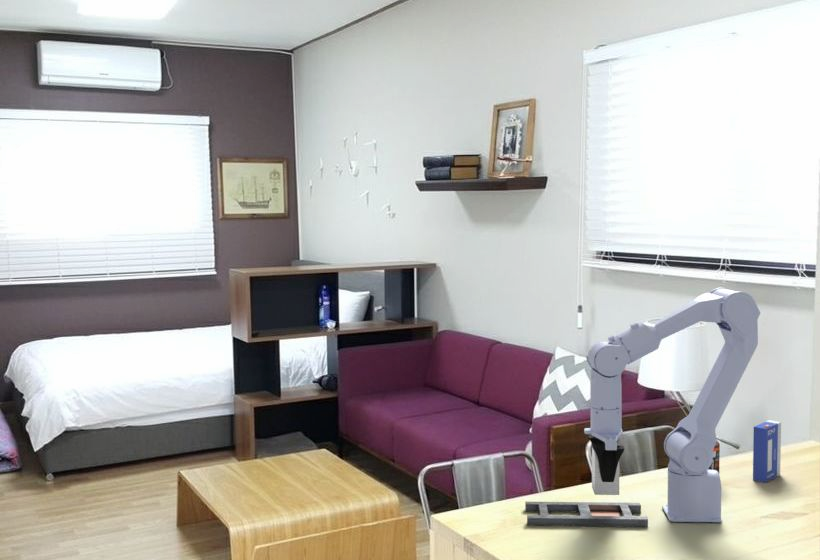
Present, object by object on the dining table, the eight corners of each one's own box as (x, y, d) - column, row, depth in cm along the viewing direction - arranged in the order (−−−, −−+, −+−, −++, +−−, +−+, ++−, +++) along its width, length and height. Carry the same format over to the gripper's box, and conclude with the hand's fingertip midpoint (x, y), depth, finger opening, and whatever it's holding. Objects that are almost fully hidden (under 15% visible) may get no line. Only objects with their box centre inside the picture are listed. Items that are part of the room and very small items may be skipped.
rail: (639, 510, 169) (639, 502, 169) (647, 527, 160) (647, 519, 160) (525, 508, 171) (525, 501, 171) (527, 525, 162) (527, 517, 162)
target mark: (618, 513, 168) (618, 511, 168) (622, 523, 163) (622, 521, 163) (589, 512, 168) (589, 511, 168) (593, 523, 163) (593, 521, 163)
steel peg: (615, 487, 167) (615, 446, 166) (619, 495, 163) (619, 453, 162) (592, 486, 167) (591, 446, 167) (594, 494, 163) (594, 452, 162)
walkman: (765, 483, 184) (766, 427, 183) (752, 480, 186) (753, 425, 185) (781, 474, 190) (782, 420, 189) (768, 471, 192) (769, 418, 191)
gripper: (580, 397, 171) (580, 465, 172) (588, 415, 157) (588, 489, 158) (616, 398, 171) (616, 465, 172) (628, 415, 156) (628, 489, 157)
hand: (605, 477), depth 165 cm, fingers closed on steel peg, 4 cm apart
